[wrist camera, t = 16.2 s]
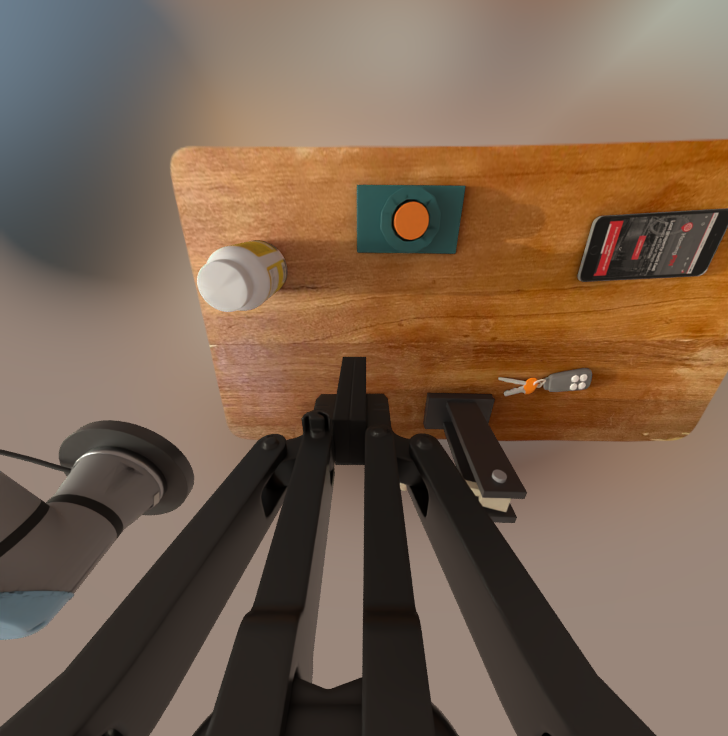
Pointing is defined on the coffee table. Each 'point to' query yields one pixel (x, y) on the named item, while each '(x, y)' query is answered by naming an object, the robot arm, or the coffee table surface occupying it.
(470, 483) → the switch lever
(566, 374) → the key chain
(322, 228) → the coffee table surface
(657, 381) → the coffee table surface
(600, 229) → the smartphone
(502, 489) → the lever switch stand
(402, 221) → the button
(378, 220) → the teal button base
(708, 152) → the coffee table surface
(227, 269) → the pill bottle
